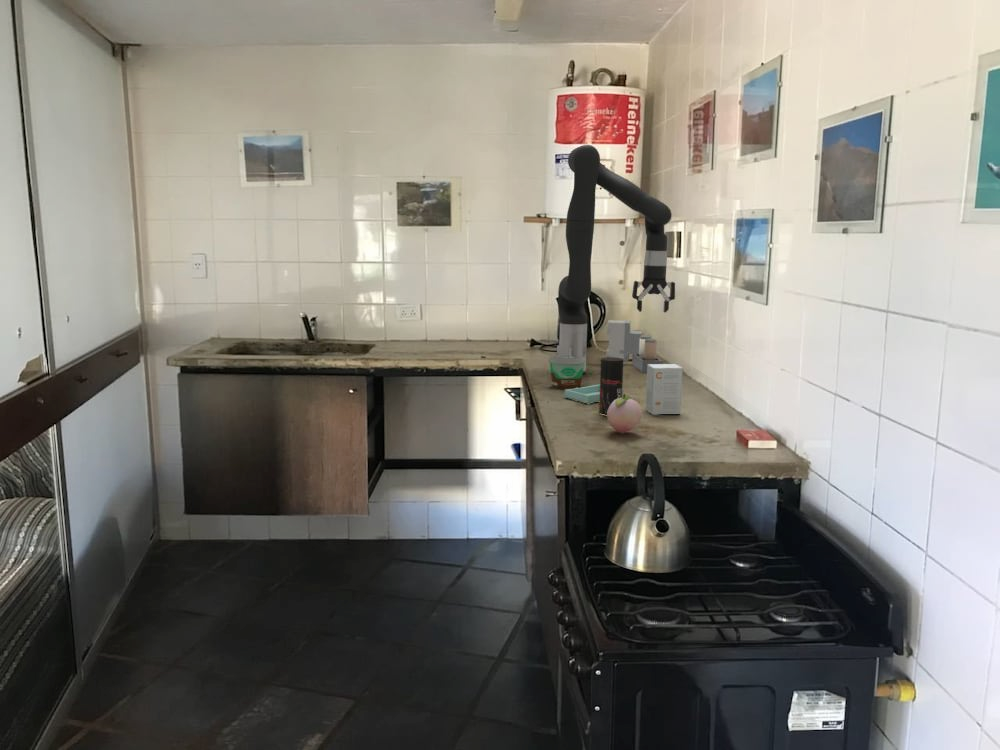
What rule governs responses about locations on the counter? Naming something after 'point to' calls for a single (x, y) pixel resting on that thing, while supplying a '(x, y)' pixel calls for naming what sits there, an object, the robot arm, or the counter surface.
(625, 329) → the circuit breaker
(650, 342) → the brown tall block
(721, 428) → the counter surface
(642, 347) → the holder
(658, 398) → the small box
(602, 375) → the deodorant
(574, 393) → the parts tray
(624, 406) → the decorative fruit
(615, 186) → the robot arm
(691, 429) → the counter surface
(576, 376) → the food container
